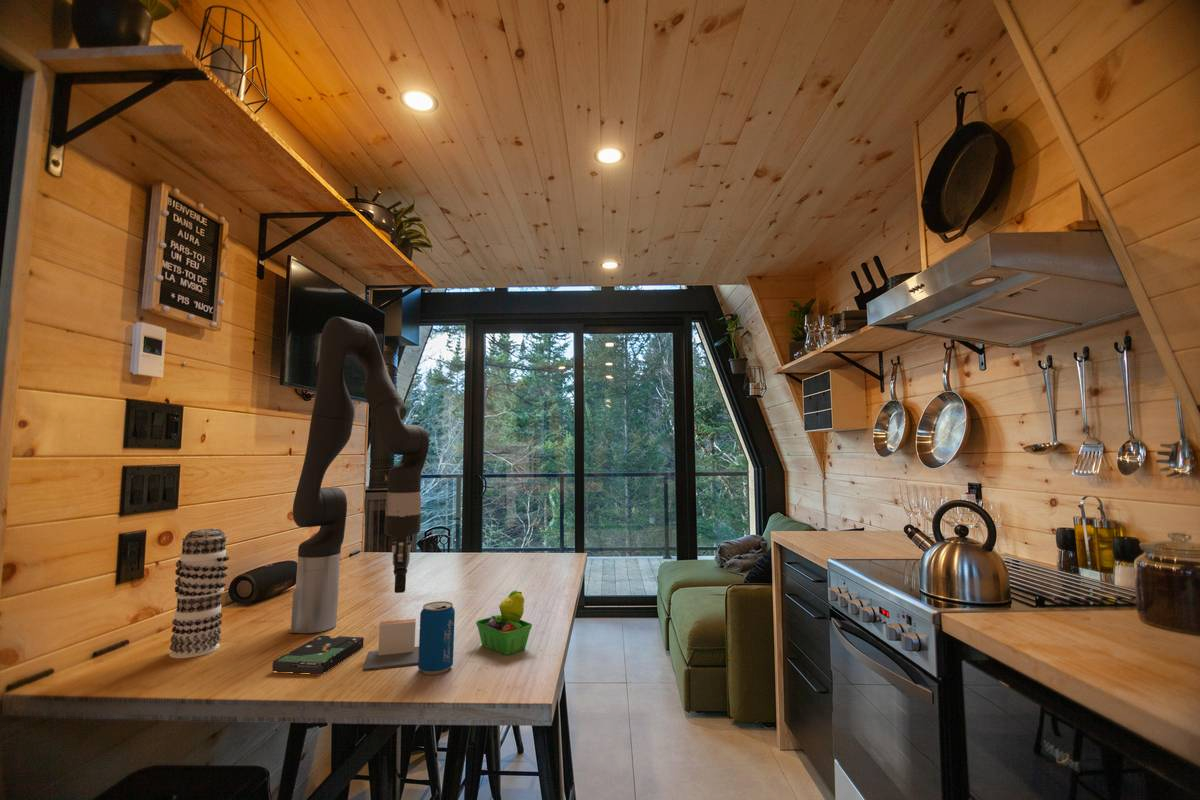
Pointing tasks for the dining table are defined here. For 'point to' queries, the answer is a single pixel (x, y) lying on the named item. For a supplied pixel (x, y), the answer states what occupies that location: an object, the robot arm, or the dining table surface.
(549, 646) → the dining table surface
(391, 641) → the tile
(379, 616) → the dining table surface
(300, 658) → the disk drive
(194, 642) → the decorative candle
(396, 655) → the mat
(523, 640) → the fruit basket
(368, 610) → the dining table surface
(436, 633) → the beverage can
